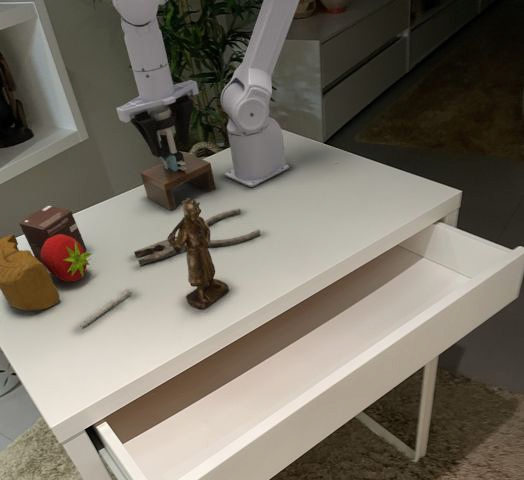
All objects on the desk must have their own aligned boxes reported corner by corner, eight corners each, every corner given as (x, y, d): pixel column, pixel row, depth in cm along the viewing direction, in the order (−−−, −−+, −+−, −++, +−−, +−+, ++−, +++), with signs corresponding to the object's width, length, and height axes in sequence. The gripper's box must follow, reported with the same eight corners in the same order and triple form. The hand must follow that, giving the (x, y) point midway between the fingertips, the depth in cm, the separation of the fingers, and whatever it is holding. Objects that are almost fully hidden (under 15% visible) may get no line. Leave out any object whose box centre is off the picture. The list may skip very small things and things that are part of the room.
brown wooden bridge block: (191, 177, 108) (185, 152, 104) (215, 188, 103) (210, 162, 99) (147, 197, 104) (140, 172, 100) (170, 211, 99) (163, 184, 95)
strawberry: (44, 224, 86) (87, 226, 81) (68, 265, 91) (110, 269, 86) (16, 246, 83) (59, 249, 78) (42, 287, 88) (84, 293, 82)
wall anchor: (126, 292, 82) (131, 296, 81) (79, 326, 77) (84, 330, 77) (126, 288, 81) (131, 292, 81) (78, 322, 77) (83, 326, 76)
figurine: (194, 317, 76) (167, 218, 66) (175, 307, 78) (147, 210, 68) (232, 289, 79) (212, 191, 69) (214, 280, 81) (192, 184, 71)
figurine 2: (32, 265, 92) (63, 301, 82) (-7, 283, 90) (20, 322, 80) (13, 227, 88) (43, 260, 78) (-28, 245, 86) (-3, 281, 75)
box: (61, 270, 89) (42, 229, 84) (36, 262, 92) (17, 222, 87) (88, 250, 92) (72, 210, 88) (63, 243, 95) (46, 204, 90)
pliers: (268, 225, 89) (158, 278, 82) (269, 230, 89) (159, 283, 82) (235, 205, 95) (130, 252, 88) (236, 209, 96) (131, 257, 89)
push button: (197, 166, 99) (185, 109, 92) (172, 178, 97) (157, 120, 90) (177, 157, 103) (164, 101, 96) (153, 168, 101) (137, 111, 94)
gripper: (123, 84, 83) (147, 171, 92) (201, 55, 89) (217, 139, 98) (101, 77, 87) (126, 160, 97) (177, 50, 93) (194, 131, 102)
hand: (170, 149), depth 98 cm, fingers closed on push button, 5 cm apart
